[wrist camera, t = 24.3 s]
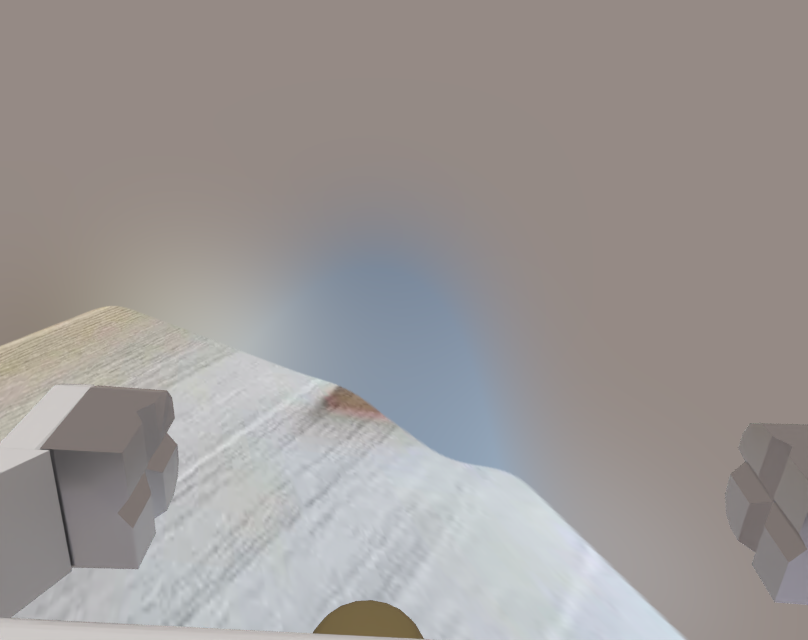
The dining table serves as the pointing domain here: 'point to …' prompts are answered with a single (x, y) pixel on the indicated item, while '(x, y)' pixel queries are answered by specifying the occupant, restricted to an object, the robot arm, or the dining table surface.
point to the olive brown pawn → (369, 621)
